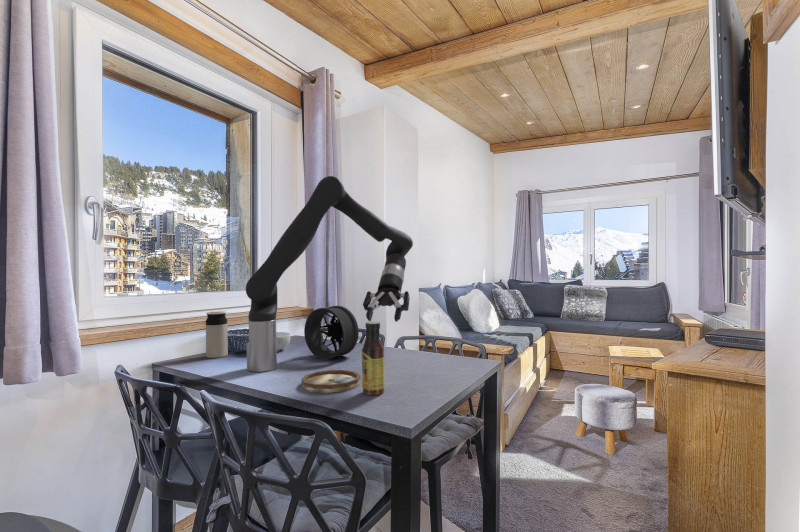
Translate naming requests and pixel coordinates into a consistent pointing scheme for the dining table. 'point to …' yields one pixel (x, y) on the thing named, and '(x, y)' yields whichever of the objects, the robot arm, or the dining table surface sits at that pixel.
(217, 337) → the travel mug
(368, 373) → the sauce bottle
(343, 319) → the wheel rim
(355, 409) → the dining table surface
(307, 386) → the brown round tray
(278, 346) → the cereal bowl
